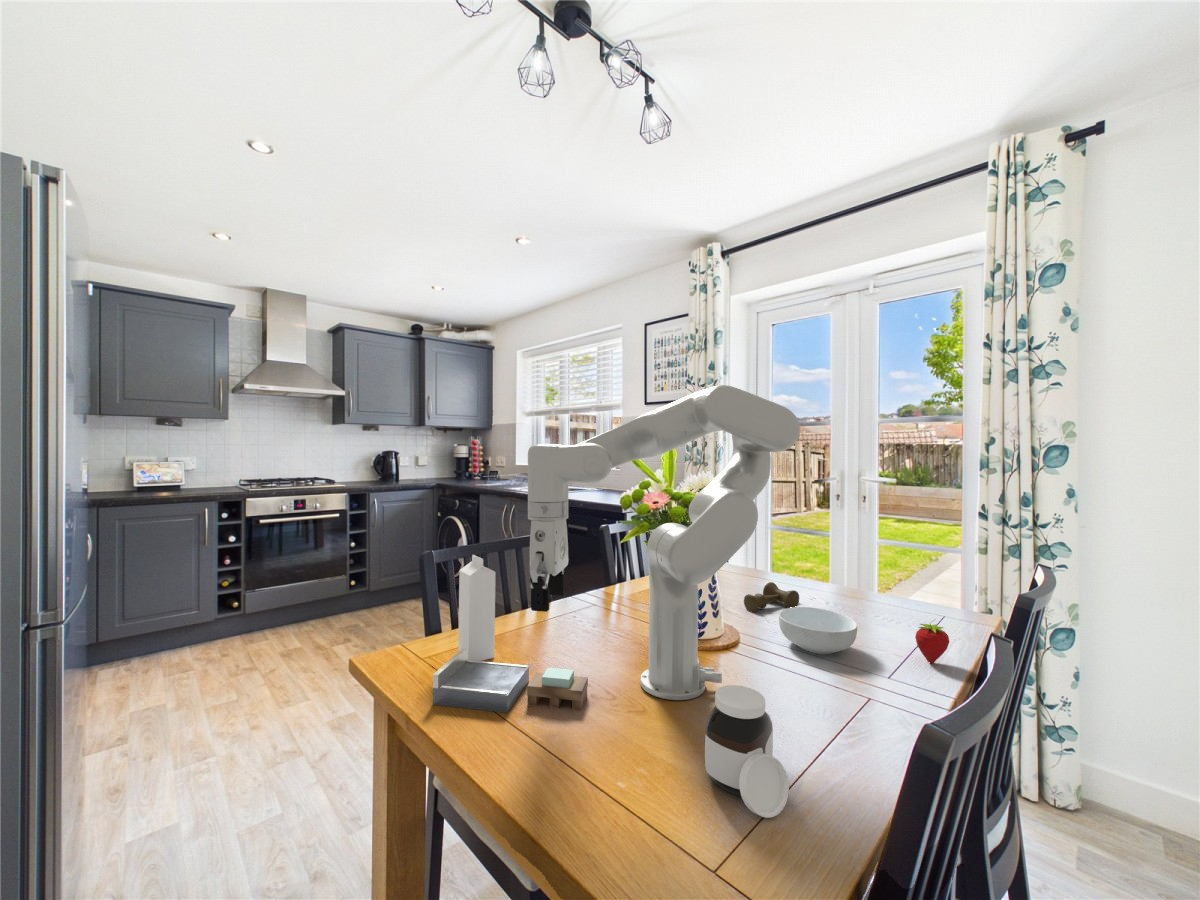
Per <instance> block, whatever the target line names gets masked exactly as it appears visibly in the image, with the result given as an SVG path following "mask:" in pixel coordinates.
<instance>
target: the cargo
mask: <svg viewBox="0 0 1200 900" xmlns="http://www.w3.org/2000/svg"><path fill="white" fill-rule="evenodd" d="M543 673H544V675H543V676H542V685H544V686H554V687H564V688H569V687H570V685H571V683H572V681H573V679H574V676H575V670H574V669H568V668H558V667H547V668H546V670H545V672H543Z"/></svg>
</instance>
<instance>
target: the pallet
mask: <svg viewBox="0 0 1200 900" xmlns="http://www.w3.org/2000/svg"><path fill="white" fill-rule="evenodd" d="M544 673H545V672H535V674H534V675H533V677H532V678H531V679H530V680H529V682H528V683H527V685H526V686H527V687H526V695H527V706H531V707H532V706H533V707H537V705H538V703H539V702H540V700H541V698H549V708H551V709H559V708H560V706H561V704H562V702H563V700H569V701H571V710H572V711H579V712H581V711H582V709H583V707H584V704H585V702H586V699H587V697H588V687H589V685H588V683H589V677H588V676H578V675H574V679H573V681H572V683H571V685H570V687H569V688H564V687H554V686H544V685H542V676H543V675H544Z"/></svg>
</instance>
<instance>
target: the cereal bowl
mask: <svg viewBox="0 0 1200 900" xmlns="http://www.w3.org/2000/svg"><path fill="white" fill-rule="evenodd" d="M778 625H779V628H780V629H779V630H780V631H781V633H782V634H783V635H784V637H785V638H786V639H787V640H788V641H789V642H791V643H792V644H794V645H796V646H798V647H799V648H801V649H802V650H804V651H806V652H808V651H809V652H808V653H812V654H816V653H817V655H829V654H833V653H838V652H842V651H844V650H848V648H850V647H851V646H852V645H853V644H854V642H855V641H856V639H857V635H858V634H857V633H858V624H857V622H856V621H855V620H854V619H852V618H851V617H850V616H847V615H845V614H842V613H839V612H837V611H833V610H830V609H823V608H818V607H812V606H811V607H809V606H797V607H792V608H787V607H786V608H785V609H781V610H780V611H779V613H778Z"/></svg>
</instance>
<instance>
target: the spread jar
mask: <svg viewBox="0 0 1200 900" xmlns="http://www.w3.org/2000/svg"><path fill="white" fill-rule="evenodd" d="M714 694H715V695H714V704H715V705H714V707H713V708H712V710H711V713H710V715H709V717H708V720H707V723H706V728H705V736H704V737H705V739H704V740H705V741H704V765H705V767H704V768H705V771H706V773H707V776H708V777H709V778H710V779H711V780H712V781H713V782H714V783H715V784H716V785H717V786H719V787H720V788H721V789H723V790H725V791H726V792H728V793H731V794H733V795H737V796H741V799H742V801H743V803H744V805H745V806H746V807H747V809H748V810H750V811H751V812H752V813H754V814H756V815H758V816H760V817H762V818H766V819H768V818H774V817H776V816H778V815H779V814H781V812H782V811H783V810H784V808H785V807H786V805H787V801H788V797H789V792H790V791H789V790H790V789H789V788H790V786H789V779H788V778H789V777H788V775H787V771H786V769H785V767H784V765H783V764H782V763H781V762H780V761H779V759H778V758H776V757H774V756H773V755H774V754H773V753H774V750H773V749H774V747H773V746H774V745H773V744H774V730H773V721H772V719H771V717H770V715H769V714H768V712H767V711H766V698H765V697H764V695H763V694H762V693H761V692H759V691H757V690H755V689H753V688H751V687H747V686H743V685H734V684H731V685H730V684H729V685H724V686H721V687H718V688H717V689H716V690H715V692H714Z"/></svg>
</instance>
